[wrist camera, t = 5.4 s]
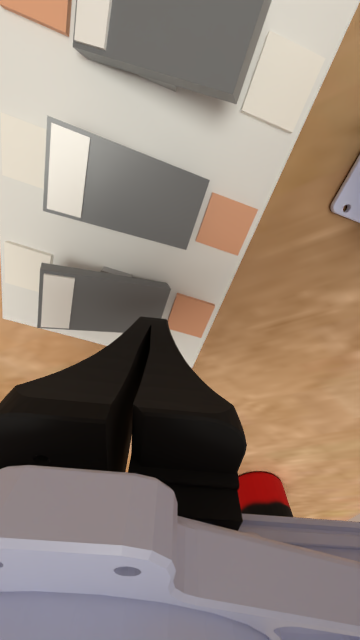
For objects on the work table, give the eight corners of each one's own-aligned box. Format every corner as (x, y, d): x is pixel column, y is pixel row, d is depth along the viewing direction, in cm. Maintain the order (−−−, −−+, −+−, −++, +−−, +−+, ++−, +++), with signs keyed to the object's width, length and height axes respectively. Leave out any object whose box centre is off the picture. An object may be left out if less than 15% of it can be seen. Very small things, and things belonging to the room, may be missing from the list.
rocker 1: (282, -33, 9) (283, -64, 8) (236, 104, 11) (232, 93, 10) (100, -68, 10) (80, -99, 9) (87, 59, 12) (70, 44, 11)
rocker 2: (204, 178, 14) (210, 180, 13) (182, 245, 16) (186, 250, 15) (52, 118, 11) (46, 114, 10) (47, 207, 13) (42, 211, 12)
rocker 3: (166, 282, 18) (171, 289, 17) (152, 327, 20) (156, 335, 19) (41, 262, 14) (39, 270, 13) (38, 319, 16) (36, 329, 15)
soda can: (218, 487, 36) (232, 610, 26) (256, 464, 33) (289, 593, 23) (253, 503, 38) (280, 623, 28) (292, 483, 36) (338, 608, 25)
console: (345, -3, 13) (394, -59, 10) (191, 351, 24) (192, 374, 21) (24, -180, 10) (-39, -323, 7) (20, 304, 22) (-5, 324, 19)
